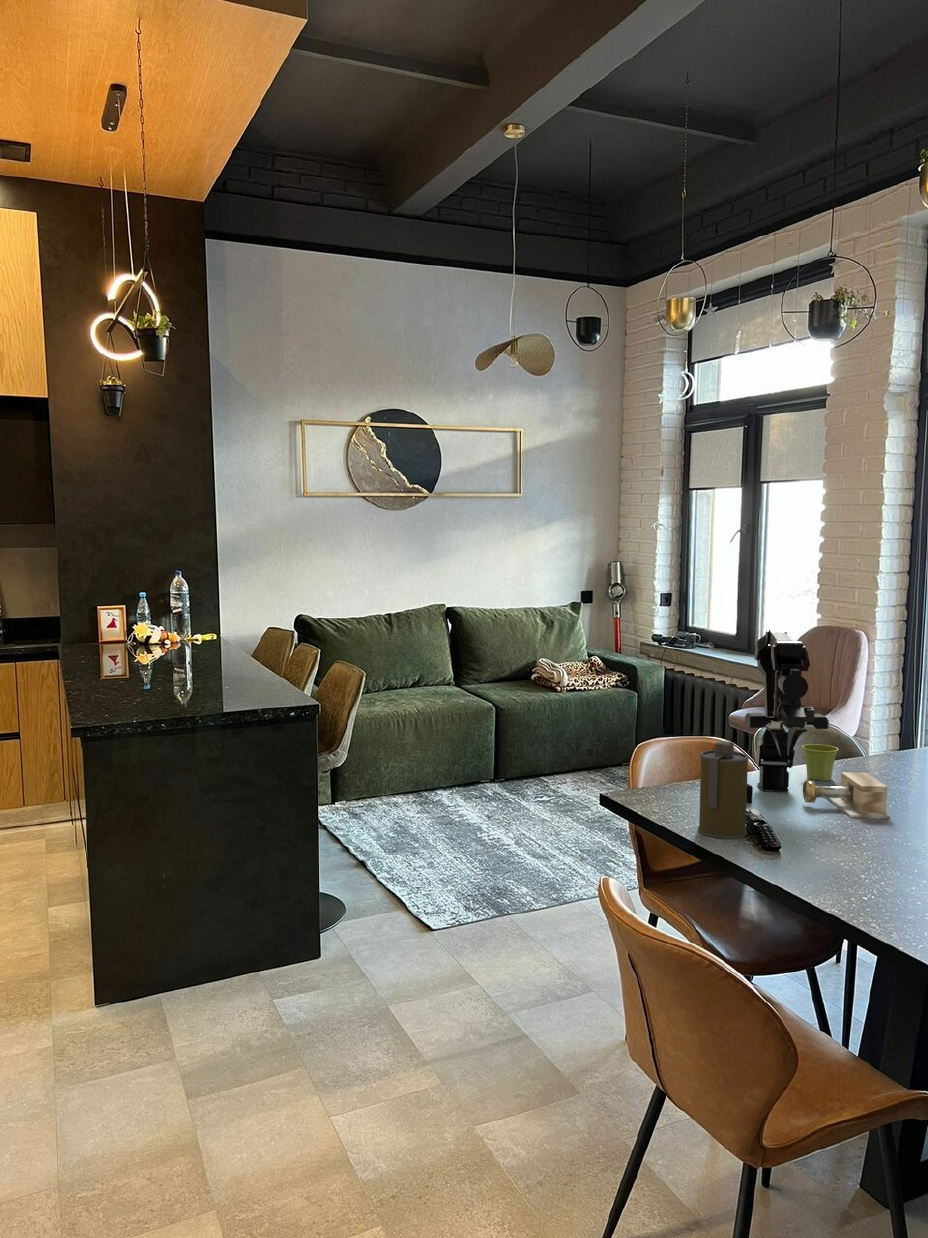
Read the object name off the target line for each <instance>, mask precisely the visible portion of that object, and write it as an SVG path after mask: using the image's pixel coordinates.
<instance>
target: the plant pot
mask: <svg viewBox="0 0 928 1238" xmlns="http://www.w3.org/2000/svg"><path fill="white" fill-rule="evenodd" d="M801 748H802V749H803V753H804V758H805V766H806V767H805V768H806V776H807V778H808V779H810V780H812V779H813V780H812V781H815V780H819V781H821V782H824V781H825V782H827V781H831V780H832V776H833V772H834V771H833V770H834V766H835V758H836V756H837V753H838V751H839V750H840V749H839V748H838V747H836V746H833V745H827V744H817V743H816V744H815V743H814V744H813V743H811V744H803V745H801Z"/></svg>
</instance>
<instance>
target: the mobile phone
mask: <svg viewBox="0 0 928 1238" xmlns="http://www.w3.org/2000/svg"><path fill="white" fill-rule="evenodd" d="M753 789H754V787H753V786H752V785H751V784H748V783H747V802H746V804H752V803H753V791H754V790H753Z"/></svg>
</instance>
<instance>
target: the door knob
mask: <svg viewBox="0 0 928 1238" xmlns="http://www.w3.org/2000/svg"><path fill="white" fill-rule="evenodd" d="M853 792H854V787H840V786H832V785H831V786H824V785H823V786H822V785H821V786H820V785H816V783H815V782H814V780H804V781H803V785H802V796H803V800H804V802H805V803H809V804H812V803H813V804H814V803H816V800H817V799H827V798H851V799H853Z"/></svg>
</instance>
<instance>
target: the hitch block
mask: <svg viewBox="0 0 928 1238" xmlns="http://www.w3.org/2000/svg"><path fill="white" fill-rule="evenodd" d="M839 787H854V792H853V799H851V798H826V800H828V801H829V802H830V803H831V804H833V805H834V806H836V807H837V808H838V809H839V810H840V811H842V812H843V813H844V814H845V815H847V816H848V817H850V818H852V819H888V820H889V819H891V815H890V814H889V813H887V800H888V786H887V785H886V784H884V783H883V782H881V781H880V780H877V779H876V778H875V777H873V776H871V775H870V774H868V773H866V772H845V771H844V772H840V786H839Z"/></svg>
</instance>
